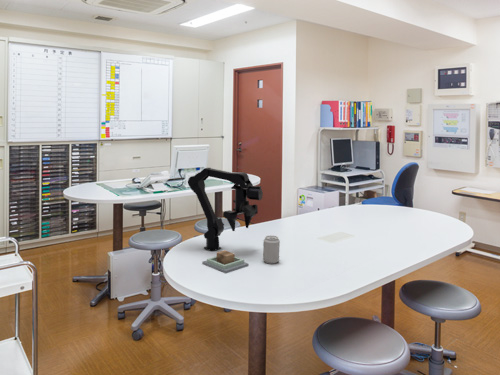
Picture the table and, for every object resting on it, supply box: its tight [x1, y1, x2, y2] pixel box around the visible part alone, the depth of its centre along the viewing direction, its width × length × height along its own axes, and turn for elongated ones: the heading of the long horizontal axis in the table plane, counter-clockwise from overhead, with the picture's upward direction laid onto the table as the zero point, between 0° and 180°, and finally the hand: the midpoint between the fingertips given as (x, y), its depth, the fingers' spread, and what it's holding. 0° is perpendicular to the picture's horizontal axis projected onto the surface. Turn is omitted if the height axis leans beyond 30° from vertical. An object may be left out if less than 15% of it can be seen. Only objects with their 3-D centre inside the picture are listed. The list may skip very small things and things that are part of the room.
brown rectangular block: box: [215, 249, 236, 265], centre depth 189 cm, size 7×5×4 cm
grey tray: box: [201, 256, 249, 274], centre depth 189 cm, size 16×14×2 cm
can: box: [262, 235, 281, 265], centre depth 194 cm, size 8×8×12 cm
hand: (240, 229), depth 205 cm, fingers open, 9 cm apart
